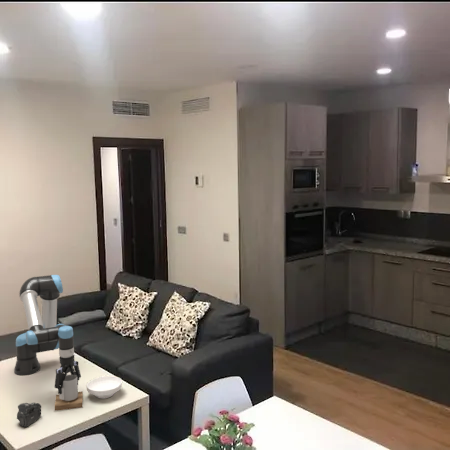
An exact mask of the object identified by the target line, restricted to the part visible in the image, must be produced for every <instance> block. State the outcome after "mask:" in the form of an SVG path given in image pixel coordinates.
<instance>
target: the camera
mask: <svg viewBox="0 0 450 450" xmlns="http://www.w3.org/2000/svg"><path fill="white" fill-rule="evenodd" d="M17 409H18V411H17V414H16V419H17V420H18V421H19V425H20V427H23V428H24V427H25V428H28V427H29V426H30V425H32V424H33V423H35V422H36V421H37V420H39V419H40V418H41V416H42V405H41V404H40V403H39V402H23V403H20V404H18V405H17Z"/></svg>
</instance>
